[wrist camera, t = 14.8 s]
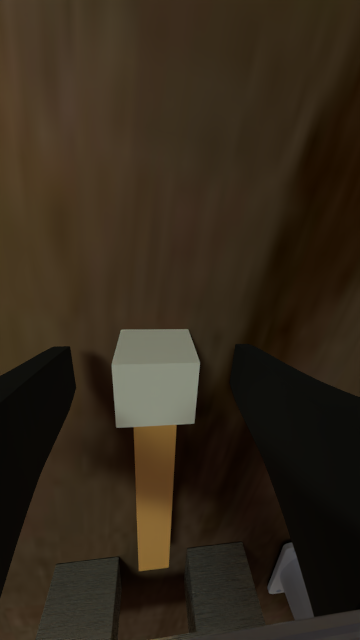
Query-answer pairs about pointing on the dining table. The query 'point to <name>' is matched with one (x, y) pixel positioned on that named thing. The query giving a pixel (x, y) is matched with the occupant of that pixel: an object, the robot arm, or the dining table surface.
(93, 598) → the block
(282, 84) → the dining table surface
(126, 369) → the wooden stick
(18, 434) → the robot arm
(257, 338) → the dining table surface
